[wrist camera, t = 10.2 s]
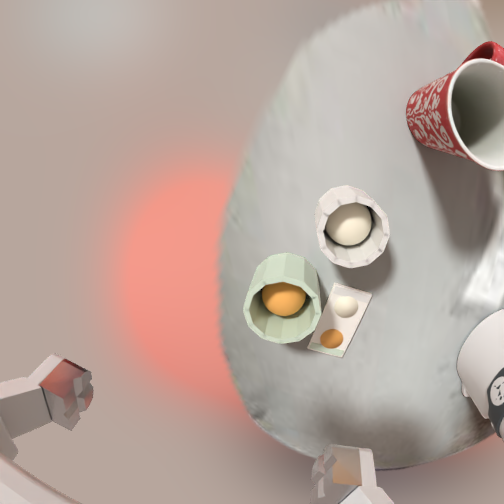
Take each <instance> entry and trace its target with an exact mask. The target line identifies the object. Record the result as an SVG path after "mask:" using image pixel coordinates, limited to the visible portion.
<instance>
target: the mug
mask: <svg viewBox="0 0 504 504" xmlns="http://www.w3.org/2000/svg"><path fill="white" fill-rule="evenodd" d="M491 58H492V59H491ZM490 59H491V60H490ZM406 118H407V123H408V126H409V128H410V131H411V132H412V134H413V135H414V137H415V138H416V139H417V140H418V141H419V142H420V143H422V144H423V145H425V146H427V147H429V148H432V149H435V150H439V151H442V152H445V153H449V154H452V155H456V156H458V157H461V158H465V159H467V160H470V161H473V162H475V163H477V164H478V165H480V166H482V167H484V168H486V169H490V170H494V171H504V48H503V47H501V46H500V45H498V44H497V43H495V42H492V41H489V42H485V43H483V44H482V45H480V46H478V47H477V48H476V49H475V50H474V51H473V52H472V53H471V54H470V55H469V56H468V57H467V58H466V59H465V60H464V62H463V63H462V64H461V65H460V66H459V67H458V68H457V69H456V70H455V71H453V72H451V73H449V74H447V75H445V76H443V77H441V78H439V79H438V80H436V81H434V82H432V83H430V84H428V85H426V86H424V87H422V88H420V89H419V90H417V91H416V92H415V93H414V94H413V95H412V96H411V97H410V99H409V101H408V104H407V108H406Z"/></svg>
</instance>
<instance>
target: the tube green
mask: <svg viewBox="0 0 504 504" xmlns="http://www.w3.org/2000/svg"><path fill="white" fill-rule="evenodd" d="M278 282H286V283H290V284H293V285H296V286H300V287H301V288H302V289H303V290H304V291H305V292H306V293H307V294H308V295H309V296H310V298H308V299H307V300H306V301H305V302H304V304H303V306H302V307H301V308H300V309H299V310H298V311H297V312H296V313H294V314H291V315H288V316H279V315H276V314H274V313H272V312H271V311H269V310H268V309H267V307H266V306H265V304H264V302H263V299H262V295H261V292H260V289H261V288H263V287H264V286H265V285H268V284H273V283H278ZM243 312H244V315H245V318H246V321H247V324H248V326H249V327H250V328H251V329H252V330H253V331H254V332H255V333H256V334H257V335H258V336H260V337H261V338H262V339H265V340H268V341H272V342H275V343H279V344H284V343H290V342H297V341H300V340H302V339H303V338H305V337H306V336H307V335H309V334H310V333H312V332H313V331H314V330H315V328H316V326H317V323H318V321H319V319H320V316H321V314H322V313H321V300H320V287H319V281H318V277H317V272H316V269H315V268H314V267H313V266H312V265H311V264H310V263H309V262H308V261H307V260H306V259H305V258H304V257H301V256H298V255H295V254H291V253H288V252H286V253H281V254H276V255H271V256H269V257H268V258H267V259H265V260H264V261H263V262H262V263H261V264H260V265H259V266H258V267H257V269H256V271H255V274H254V277H253V279H252V282H251V285H250V288H249V290H248V293H247V297H246V300H245V304H244V307H243Z"/></svg>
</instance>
